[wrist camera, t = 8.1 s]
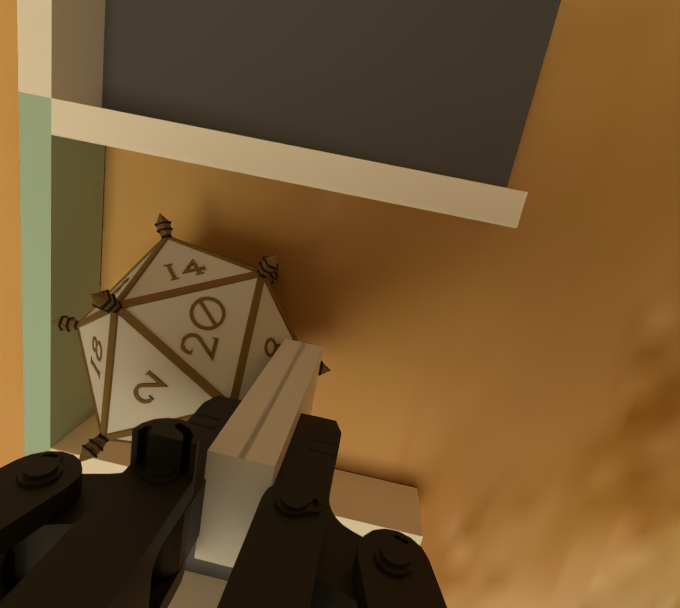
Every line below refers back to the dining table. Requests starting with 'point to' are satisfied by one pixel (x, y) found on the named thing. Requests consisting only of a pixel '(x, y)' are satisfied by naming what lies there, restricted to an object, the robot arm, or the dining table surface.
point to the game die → (176, 336)
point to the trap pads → (337, 80)
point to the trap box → (86, 238)
